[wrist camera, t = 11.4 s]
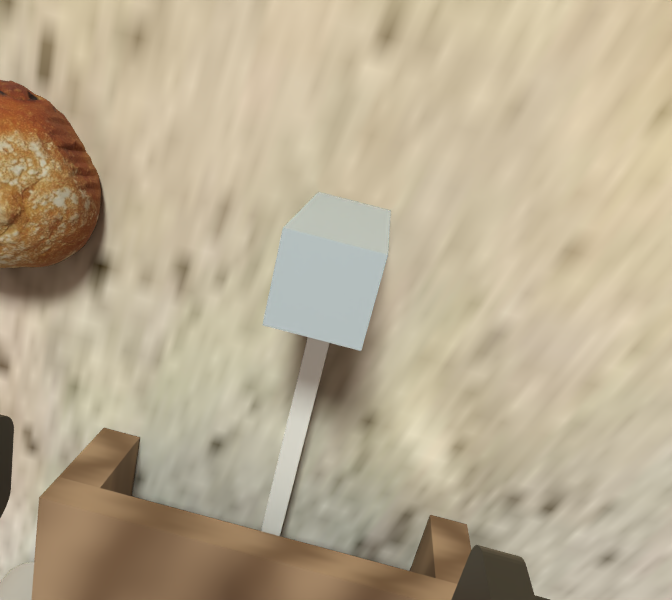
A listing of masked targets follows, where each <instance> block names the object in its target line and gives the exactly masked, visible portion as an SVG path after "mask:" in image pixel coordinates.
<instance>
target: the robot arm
mask: <svg viewBox="0 0 672 600" xmlns="http://www.w3.org/2000/svg"><path fill="white" fill-rule="evenodd" d="M13 435H14V425H13V422H12V420H11V418H9V417H8V416H4V415H0V517H1V515H2V514H3V512H4V510H5V508H6V505H7V503H8V500H9V496H10V491H11V474H12V455H13ZM451 600H550V599H546V598H542V597H539V596H535V595H534V592H533V589H532V585H531V582H530V578H529V574H528V571H527V567H526V564H525V562H524V560H523V559H522V557H519V556H516V555H512V554H508V553H505V552H501V551H497V550H494V549H490V548H486V547H482V546H479V545H476V546H474V547H473V549H472V550H471V552H470V554H469V557H468V559H467V562H466V564H465V567H464V569H463V572H462V574H461V577H460V579H459V582H458V584H457V587H456V589H455V592H454V594H453V597H452V599H451Z"/></svg>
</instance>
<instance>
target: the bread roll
mask: <svg viewBox="0 0 672 600" xmlns="http://www.w3.org/2000/svg"><path fill="white" fill-rule="evenodd" d="M100 201H101V187H100V181H99V175H98V173H97V170H96V168H95V167H94V165H93V164H92V161H91V158H90V156H89V155H88V154H87V153H86V150H85V148H84V145H83V144H82V142H81V141H80V139H79V137H78V136H77V134H76V133H75V131H74V129H73V127H72V126H71V124H70V123H69V122H68V120H67V119H66V117H65V116H64V115H63V114H62V113H61V112H59V111H58V110H57V109H56V108H55V107H54V106H53V105H52V104H51V103H50V102H49V101H47V100H46V99H44V98H43V97H41V96H38V95H36V94H34V93H33V92H31V91H30V90H28V89H27V88H25V87H24V86H22V85H20V84H17V83H15V82H13V81H2V80H0V268H6V267H10V268H18V267H22V266H23V267H43V266H50V265H53V264H56V263H59V262H61V261H63V260H65V259H66V258H68V257H70V256H71V255H73V254H74V253H76V252H77V251H79V250H80V249H81V248H82V247H83V246H84V245H85V244H86V242H87V241H88V239H89V238H90V236H91V234H92V232H93V230H94V228H95V226H96V223H97V220H98V216H99V211H100Z"/></svg>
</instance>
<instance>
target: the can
mask: <svg viewBox="0 0 672 600" xmlns="http://www.w3.org/2000/svg"><path fill="white" fill-rule="evenodd" d="M33 573H34V562H29V563H22V564H21V565H19V566H17V567H15V568H13V569H11V570H10V571H9V572H8V574H7V575H6V576H5V577H4V578H3V579H2V581H1V582H0V600H31V599H32V586H33Z"/></svg>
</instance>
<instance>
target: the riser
mask: <svg viewBox="0 0 672 600" xmlns="http://www.w3.org/2000/svg"><path fill="white" fill-rule="evenodd" d="M139 440H140V437H137V436H133V435H129V434H125V433H122V432H118V431H114V430H110V429H107V428H103V429H102V430H101V431H100V433H99V434H98V435H97V436H96V437H95V438H94V439H93V440H92V441H91V442H90V443H89V444H88V446H87V447H86V448H85V449H84V450H83V451H82V452H81V453H80V454H79V455H78V456H77V457H76V458H75V460H74V461H73V462H72V463H71V464H70V465H69V466H68V467H67V468H66V469H65V470H64V471H63V473H62V474H61V475H60V476H59V477H58V478H57V479H56V480H55V481H54V482H53V483H52V484H51V485H50V487H49V488H48V489H47V490H46V491H45V492H44V493H43V494H42V495H41V496H40V497H39V508H38V521H37V534H36V547H35V560H34V573H33V586H32V599H31V600H451V599H452V597H453V594H454V592H455V589H456V587H457V584H458V582H459V579H460V577H461V574H462V572H463V569H464V567H465V564H466V562H467V559H468V557H469V554H470V552H471V545H470V540H469V534H468V528H467V524H463V523H459V522H455V521H452V520H448V519H444V518H440V517H437V516H433V515H430V517H429V519H428V522H427V525H426V528H425V531H424V533H423V536H422V539H421V542H420V544H419V547H418V550H417V553H416V555H415V558H414V561H413V564H412V567H411V569H410V571H407V570H403V569H400V568H396V567H392V566H388V565H385V564H381V563H377V562H374V561H370V560H366V559H362V558H359V557H355V556H351V555H348V554H344V553H340V552H336V551H333V550H329V549H325V548H322V547H318V546H314V545H310V544H307V543H303V542H299V541H295V540H292V539H288V538H284V537H281V536H277V535H273V534H269V533H266V532H262V531H258V530H255V529H251V528H247V527H243V526H240V525H236V524H232V523H229V522H225V521H221V520H217V519H214V518H210V517H206V516H202V515H199V514H195V513H191V512H188V511H184V510H180V509H176V508H173V507H169V506H165V505H162V504H158V503H154V502H150V501H147V500H143V499H139V498H136V497H132V489H133V482H134V475H135V468H136V461H137V454H138V447H139Z"/></svg>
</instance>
